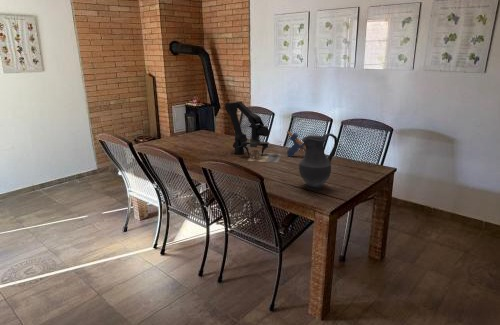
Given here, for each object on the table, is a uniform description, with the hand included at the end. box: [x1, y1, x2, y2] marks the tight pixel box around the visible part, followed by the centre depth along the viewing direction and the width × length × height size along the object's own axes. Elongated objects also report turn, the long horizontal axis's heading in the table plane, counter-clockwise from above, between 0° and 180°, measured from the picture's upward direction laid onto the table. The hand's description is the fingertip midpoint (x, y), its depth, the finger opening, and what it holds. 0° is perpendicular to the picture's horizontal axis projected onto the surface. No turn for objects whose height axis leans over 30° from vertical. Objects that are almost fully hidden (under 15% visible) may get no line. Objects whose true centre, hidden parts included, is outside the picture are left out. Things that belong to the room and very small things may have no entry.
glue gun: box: [286, 130, 306, 158], centre depth 246 cm, size 6×31×15 cm
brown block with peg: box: [250, 148, 260, 159], centre depth 239 cm, size 4×10×5 cm, turn 168°
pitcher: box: [298, 132, 339, 191], centre depth 187 cm, size 17×21×30 cm
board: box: [247, 152, 281, 164], centre depth 239 cm, size 21×14×4 cm, turn 78°
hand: (255, 156), depth 241 cm, fingers open, 9 cm apart
